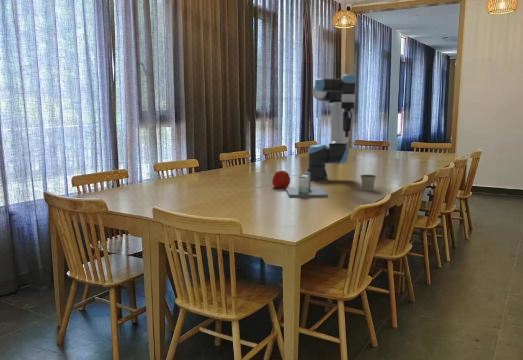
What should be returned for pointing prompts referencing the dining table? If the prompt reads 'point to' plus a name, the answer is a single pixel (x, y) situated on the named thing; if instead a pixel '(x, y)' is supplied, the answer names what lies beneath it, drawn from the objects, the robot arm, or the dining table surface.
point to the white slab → (304, 181)
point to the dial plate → (310, 193)
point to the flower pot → (368, 182)
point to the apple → (281, 179)
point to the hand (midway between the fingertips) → (345, 142)
